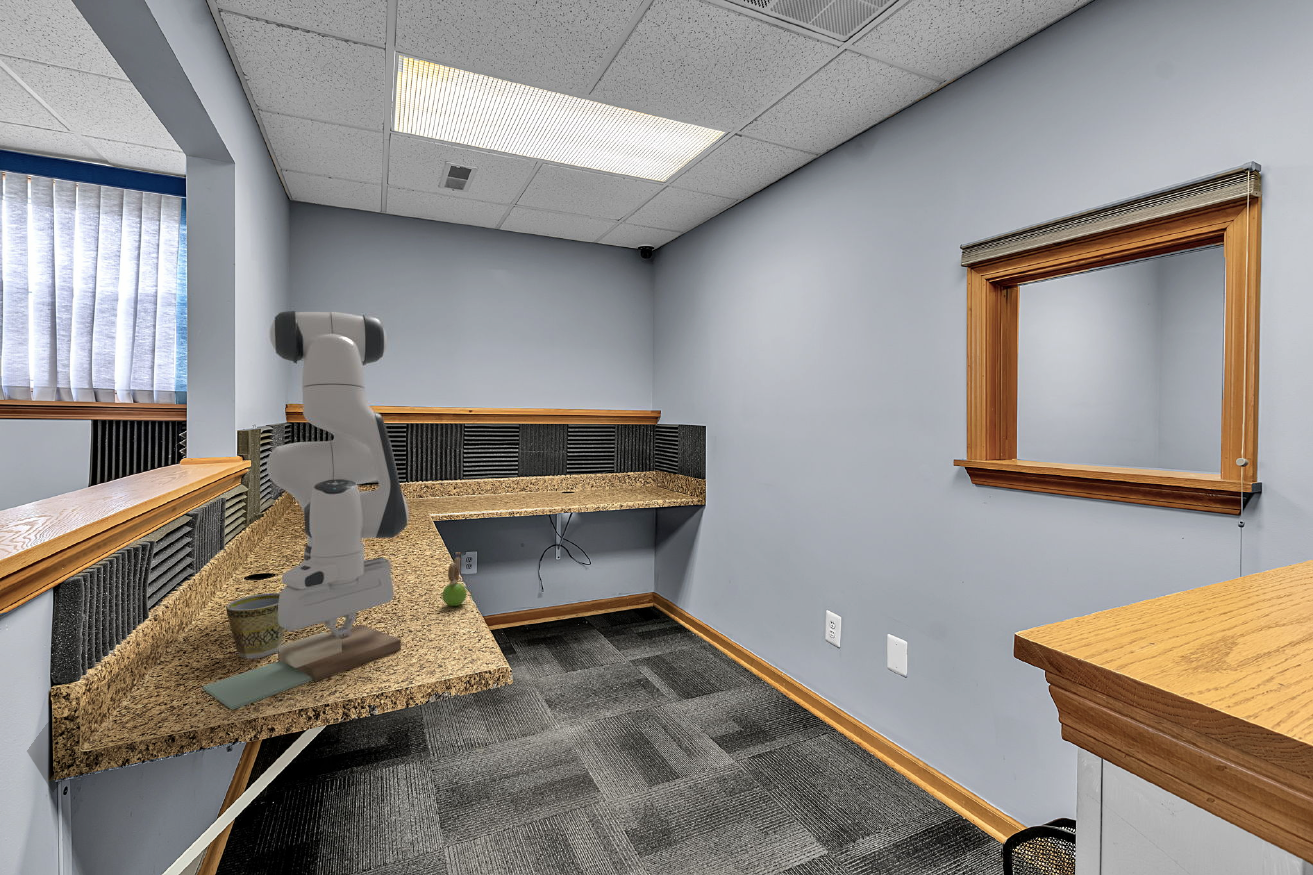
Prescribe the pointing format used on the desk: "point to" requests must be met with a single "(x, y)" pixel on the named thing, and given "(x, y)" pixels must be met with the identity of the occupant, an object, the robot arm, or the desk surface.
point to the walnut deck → (353, 652)
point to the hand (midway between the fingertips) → (341, 638)
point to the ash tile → (310, 649)
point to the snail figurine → (454, 585)
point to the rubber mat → (256, 684)
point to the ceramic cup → (255, 625)
